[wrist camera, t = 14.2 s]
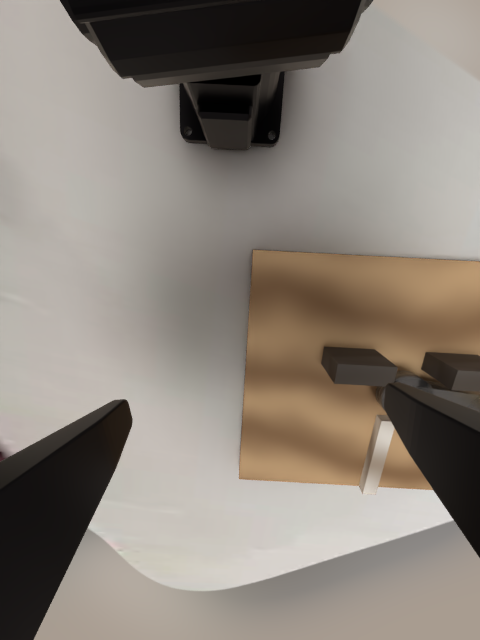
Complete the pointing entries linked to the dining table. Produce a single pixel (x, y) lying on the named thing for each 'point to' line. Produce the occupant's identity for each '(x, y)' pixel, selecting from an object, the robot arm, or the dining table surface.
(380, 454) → the lock plate
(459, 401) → the two-tone long knobbed bar
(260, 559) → the dining table surface
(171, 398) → the dining table surface
